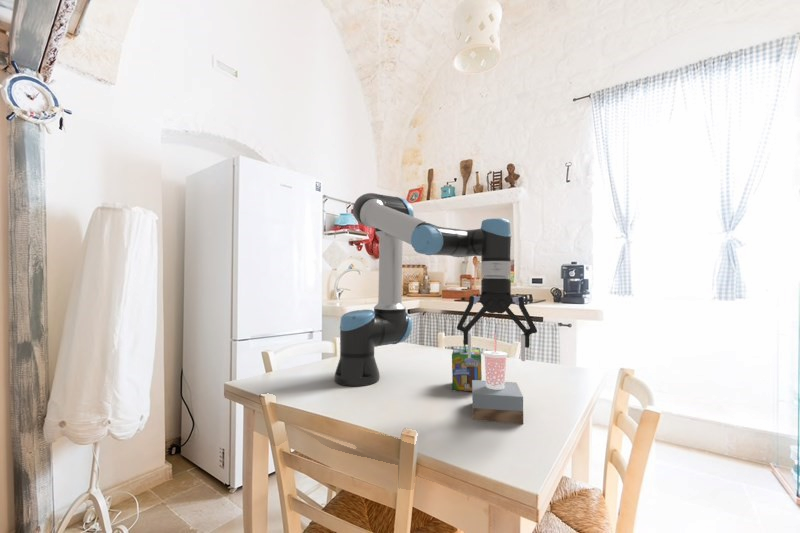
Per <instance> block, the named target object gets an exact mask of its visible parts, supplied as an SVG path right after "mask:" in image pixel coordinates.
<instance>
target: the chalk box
mask: <svg viewBox="0 0 800 533" xmlns="http://www.w3.org/2000/svg"><path fill="white" fill-rule="evenodd" d="M462 340H463V341H462V343H463V348H453V349H452V353H451V373H452V375H451V378H452V379H451V381H452V391H453V392H454V391H458V392H459V391H462V392H472V380H482V376H483V375H482V352H481V350H480V349H473V348H471V358H468V347H467V345H464V339H462ZM482 381H483V380H482Z"/></svg>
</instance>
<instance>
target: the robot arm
mask: <svg viewBox="0 0 800 533" xmlns="http://www.w3.org/2000/svg"><path fill="white" fill-rule="evenodd" d="M352 213H353V217H354V219H355V220H356V222H358V223H359V224H361V225H363V226H364V227H367V228H371V229H372V228H375V230H374V231H375V235H376V236H377V237H378V238H379V241H378V242H379V244H378V249H379V250H378V294H377V295H378V299H377V300H378V302H377V303H376V305H375V306H374V307H373V310H372V309H359V310H351V311H348V312H345V313H344V314H342V316H341V317H340V324H339V330H340V331H339V332H340V333H339V336H340V337H339V338H340V340H339V341H340V342H339V346H340V347H339V348H340V349H339V352H340V354H339V360H338V363H337V366H336V370H335V373H334V381H335V383H336V384H338V385H342V386H346V387H347V386H349V387H361V386H362V387H363V386H368V385H373V384H375V383H377V382H379V380H380V372H379V368H378V364H377V361H376V358H375V347H379V346H387V345H396V344H399V343H403V342H405V341H407V339H409V337H410V335H411V334H412V333H411V332H412V329H413V322H412V318H411V315H410V314H409V313H408V312H407V311H406V306H405V305H404V304H403V302H402V301H403V300H402V299H403V298H402V296H403V294H402V293H403V246H404V245H403V242H405V243H406V244H409V245H411V247H412V248H413V250H414V251H415V252H416V253H418V254H420V255H421V254H422V255H426V256H449V257H454V258H455V257H456V258H466V257H468V258H469V257H481V258H480V259H481V267H480V268H481V269H480V271H481V273H480V274H481V276H482V277H483V278H481V281H480V282H481V284H480V288H481V289H480V290H481V291H480V296H476V295H475V296H474V295H470V296H469V298H468V305H466V308H465V310H464V312H463V314H462V316H461V318H460V319H459V321H458V323H457V326H456V330H457V331H460V332H462V333H463V340H464V344H463V346H464V345H466V346H467V349H468V358H471V349H472V331H470V330H471V329H472V328H473V327H474V326H475V325H476V323H477V322H478V321H479V320H481V318H482V316H483V315H485V313H486V312H487V313H489V314H495V313H496V314H504V313H505V312H506V314H508V316H509V317H510V318H511V319H512V321H513V322H514V323H515V324H516V325H517V327H518V328H519V329H520V330H521V331H522V332H523V333H520V360H521V362H526V348H530V336H531V335H532V334H536V333H538V330H537V327H536V326H535V323H534V321H533V319H532V318H531V316H530V314H529V312H528V310H527V308H526V306H525V301H524V300H525V299H524V297H523V296H521V295H519V296H516V297H513V296H512V295H511V294H512V293H511V291H512V290H511V288H512V287H511V286H512V283H511V282H512V280H511V278H509V277H511V274H512V272H511V270H512V269H511V264H512V262H511V246H512V245H511V240H512V234H511V231H512V230H511V223H510V220H508V219H506V218H501V217H499V218H487V219H483V220H482V221H481V225H480V228H477V229H460V228H452V227H442V226H438V225H435V224H432V223H429V222H427V221H424V220H422V219H420V218H417V217H415V214H414V208H413V206H412V204H411V203H410V202H409V201H408V200H406V199H405V198H401V197H398V196H391V195H385V194H379V193H373V192H371V193H370V192H369V193H364V194H362V195H360V196H359V197H357V199H356V200H355V202H354V203H353V207H352ZM477 302H480V304H481V305H482V307H481V308H480V310H479V311H478V312H477V313H476V314H475V315H474V316H473V317H472V319H470V321H469V322H468V323H467V324H466V326H464V325H465V322H466V320H467V318H468V317H469V315H470V313H471V311H472V308H473V306H474V305H476V304H477ZM512 303H514V304H515V305H516V306H518V308H519V310H520V312H521V313H522V314H521V315H522V316H523V318H524V319H525V321H526V324H527V325H528V327H529V328H527V327H526V326H525V325H524V324H523V322H521V320H520V319H519V318H518V317H517V315H516V314H515V313H514V312H513V311H512V310H511V308H509V307H510V306H511V305H512Z"/></svg>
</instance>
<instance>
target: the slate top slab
mask: <svg viewBox="0 0 800 533" xmlns="http://www.w3.org/2000/svg"><path fill="white" fill-rule="evenodd" d="M471 394H472V395H471V396H472V397H471V398H472V409H473V408H480V409H495V410H509V411H523V412H524V395H523V393H522V391H521V390H520V387H519V385H518V382H515V381H514V382H513V381H505V383H504V389H501V390H494V389H489V388H487V387H486V380H472V391H471Z"/></svg>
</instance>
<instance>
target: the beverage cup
mask: <svg viewBox="0 0 800 533" xmlns="http://www.w3.org/2000/svg"><path fill="white" fill-rule="evenodd" d="M497 335H498V334H497V333H494V350H484V351H483V356H484V368H485V369H484V370H485V371H484V372H485V381H486V387H487V388H489V389H494V390H501V389H504V383H505V382H506V368H507V367H506V366H507V358H508V352H505V351H501V350H500V351H499V350H497V337H498V336H497Z"/></svg>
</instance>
